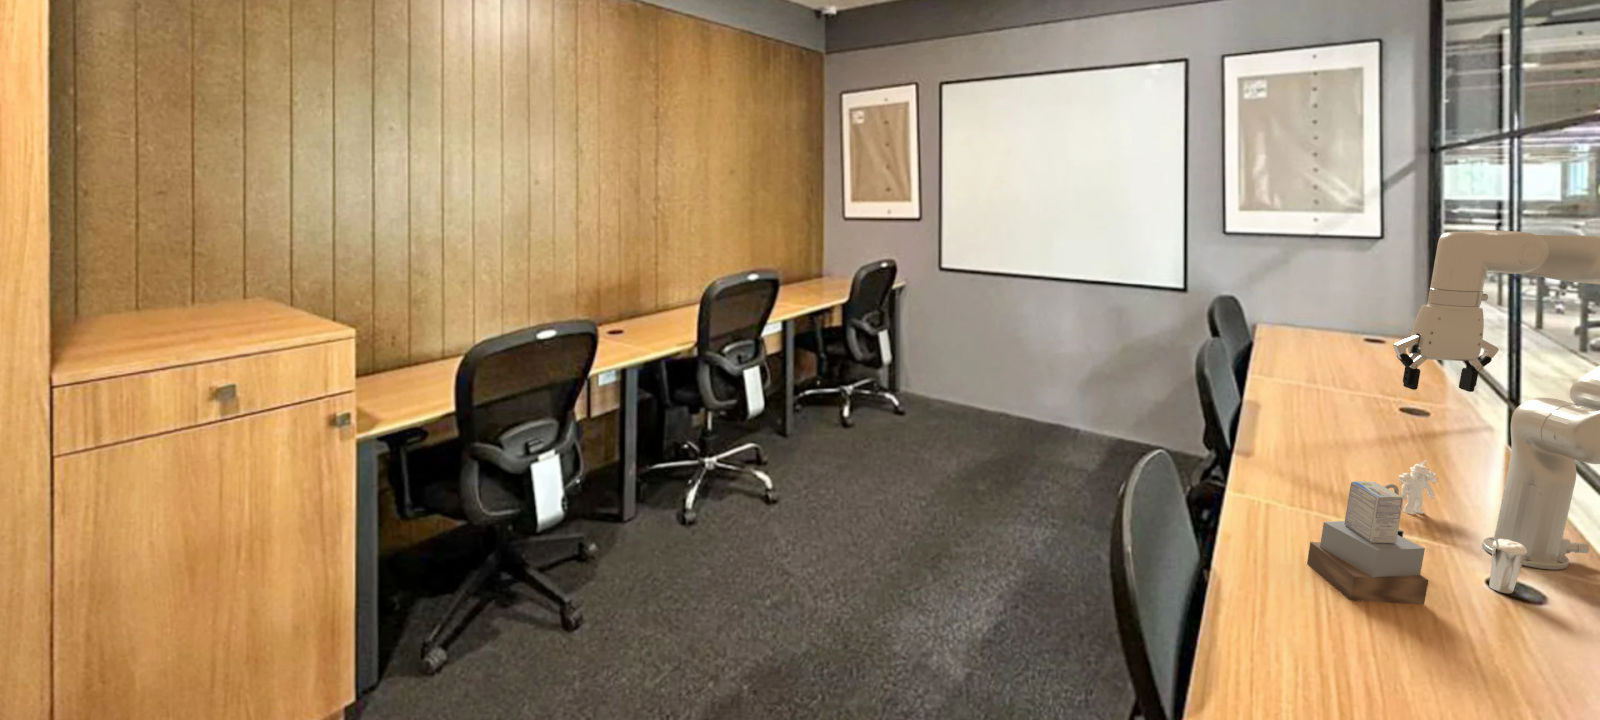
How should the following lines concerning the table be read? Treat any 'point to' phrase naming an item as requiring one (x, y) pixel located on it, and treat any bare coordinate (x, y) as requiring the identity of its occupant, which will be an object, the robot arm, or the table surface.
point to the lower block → (1366, 580)
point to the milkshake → (1506, 564)
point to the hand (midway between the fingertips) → (1437, 389)
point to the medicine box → (1373, 512)
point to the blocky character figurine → (1416, 487)
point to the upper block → (1372, 552)
